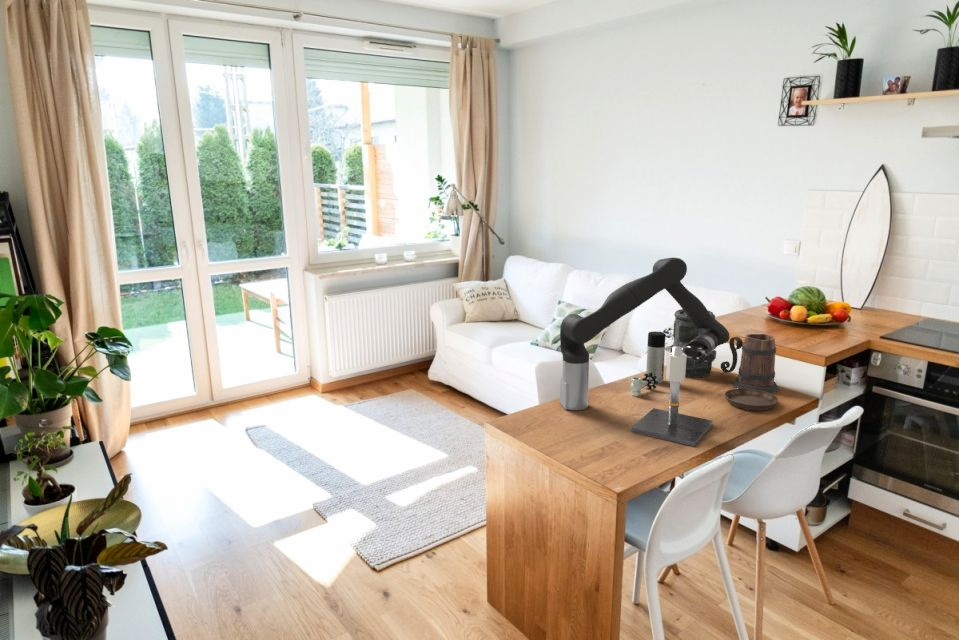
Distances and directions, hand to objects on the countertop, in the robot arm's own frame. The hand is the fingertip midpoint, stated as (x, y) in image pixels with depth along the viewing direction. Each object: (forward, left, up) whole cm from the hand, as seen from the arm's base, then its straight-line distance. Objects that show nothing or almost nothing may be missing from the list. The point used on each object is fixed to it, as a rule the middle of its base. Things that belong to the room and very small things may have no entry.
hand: (686, 358), depth 202 cm
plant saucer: (+30, +7, -22) cm, 38 cm away
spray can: (+8, +37, -21) cm, 43 cm away
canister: (+28, +44, -21) cm, 56 cm away
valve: (-2, +26, -21) cm, 34 cm away
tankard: (+42, +25, -21) cm, 54 cm away
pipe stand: (-8, -7, -21) cm, 24 cm away
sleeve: (-8, -7, -4) cm, 12 cm away
